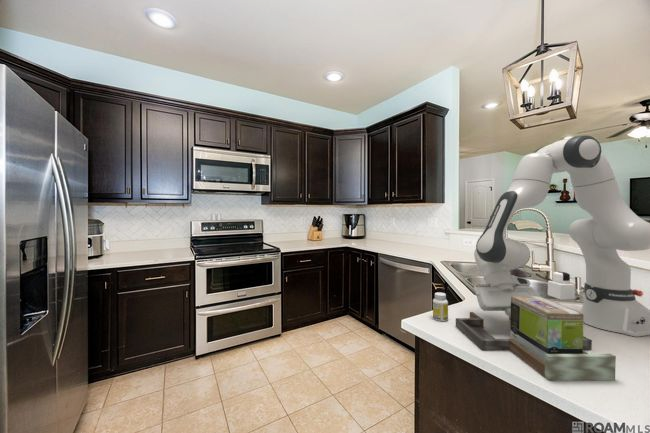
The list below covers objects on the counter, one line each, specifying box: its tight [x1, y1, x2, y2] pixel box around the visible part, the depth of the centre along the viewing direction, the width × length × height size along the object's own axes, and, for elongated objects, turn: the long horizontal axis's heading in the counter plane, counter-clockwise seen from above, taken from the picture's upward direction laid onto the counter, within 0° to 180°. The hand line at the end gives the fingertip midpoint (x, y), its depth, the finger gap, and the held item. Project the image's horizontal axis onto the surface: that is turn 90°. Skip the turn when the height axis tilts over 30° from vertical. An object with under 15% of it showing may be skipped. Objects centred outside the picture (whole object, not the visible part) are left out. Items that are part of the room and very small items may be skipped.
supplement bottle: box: [432, 292, 449, 322], centre depth 103 cm, size 5×5×10 cm
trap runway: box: [455, 311, 617, 382], centre depth 83 cm, size 33×36×6 cm
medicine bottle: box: [547, 271, 576, 301], centre depth 126 cm, size 7×7×12 cm
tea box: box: [509, 295, 584, 362], centre depth 78 cm, size 15×10×15 cm
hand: (520, 322), depth 86 cm, fingers closed
